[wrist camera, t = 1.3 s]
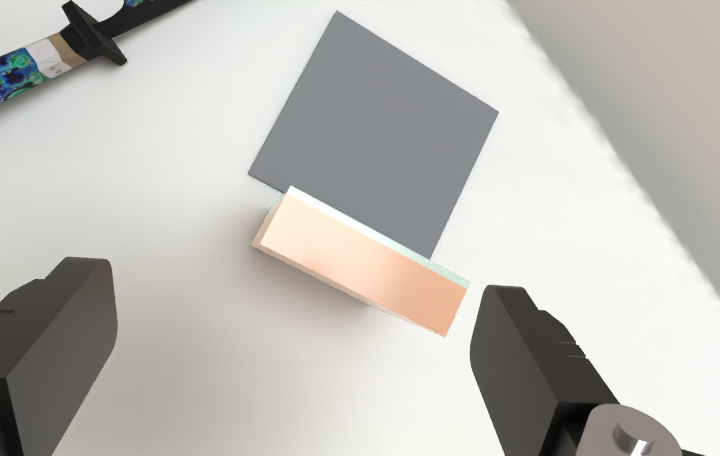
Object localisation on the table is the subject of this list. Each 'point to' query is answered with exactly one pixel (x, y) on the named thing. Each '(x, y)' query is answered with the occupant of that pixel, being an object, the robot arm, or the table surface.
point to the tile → (360, 261)
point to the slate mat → (376, 137)
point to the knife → (75, 44)
